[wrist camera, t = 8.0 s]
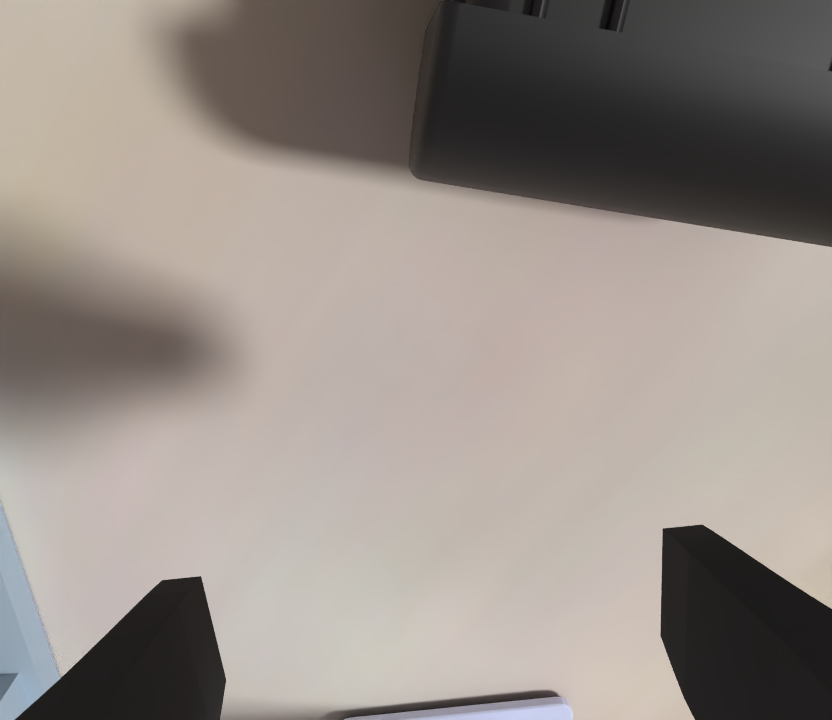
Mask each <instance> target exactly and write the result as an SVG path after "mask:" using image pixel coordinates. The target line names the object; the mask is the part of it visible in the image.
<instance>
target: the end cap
mask: <svg viewBox="0 0 832 720" xmlns="http://www.w3.org/2000/svg"><path fill="white" fill-rule="evenodd" d="M409 166H410V170H411V172H412V174H413V175H414V176H415V177H416V178H417V179H420V180H425V181H431V182H437V183H443V184H449V185H456V186H462V187H468V188H474V189H480V190H486V191H492V192H498V193H505V194H511V195H517V196H523V197H529V198H535V199H541V200H547V201H554V202H560V203H566V204H572V205H578V206H584V207H590V208H596V209H603V210H609V211H615V212H621V213H627V214H633V215H639V216H645V217H652V218H658V219H664V220H670V221H676V222H682V223H688V224H694V225H701V226H707V227H713V228H719V229H725V230H731V231H737V232H743V233H750V234H756V235H762V236H768V237H774V238H780V239H786V240H792V241H799V242H805V243H811V244H817V245H823V246H829V247H832V0H444V1H441V2H440V3H439V5H438V7H437V9H436V11H435V13H434V15H433V17H432V19H431V21H430V23H429V25H428V27H427V29H426V31H425V38H424V44H423V51H422V58H421V65H420V72H419V79H418V86H417V93H416V101H415V109H414V116H413V125H412V133H411V143H410V156H409Z"/></svg>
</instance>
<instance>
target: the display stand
mask: <svg viewBox="0 0 832 720" xmlns="http://www.w3.org/2000/svg"><path fill="white" fill-rule="evenodd" d="M59 679H61V678H60V675H59V672H58V669H57V666H56V663H55V660H54V657H53V654H52V651H51V648H50V646H49V643H48V640H47V637H46V634H45V631H44V628H43V625H42V622H41V619H40V616H39V613H38V611H37V608H36V605H35V602H34V599H33V596H32V593H31V590H30V587H29V584H28V581H27V578H26V576H25V573H24V570H23V567H22V564H21V561H20V558H19V555H18V552H17V549H16V546H15V543H14V541H13V538H12V535H11V532H10V529H9V526H8V523H7V520H6V517H5V514H4V511H3V508H2V506H1V503H0V720H15V719H16V718H17V717H18V716H19V715H20V714H21V713H23V712H24V711H25V710H26V709H27V708H28V707H29V706H30V705H32V704H33V703H34V702H35V701H36V700H37V699H38V698H39V697H40V696H42V695H43V694H44V693H45V692H46V691H47V690H48V689H49V688H50V687H52V686H53V685H54V684H55V683H56V682H57V681H58V680H59Z"/></svg>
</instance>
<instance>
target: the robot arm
mask: <svg viewBox="0 0 832 720" xmlns="http://www.w3.org/2000/svg"><path fill="white" fill-rule="evenodd" d="M661 638H662V641H663V643H664V646H665V649H666V652H667V654H668V657H669V660H670V663H671V665H672V668H673V671H674V673H675V676H676V678H677V681H678V684H679V686H680V689H681V691H682V694H683V696H684V699H685V701H686V703H687V705H688V707H689V709H690V711H691V713H692V715H693V716H694V718H695V720H832V609H831V608H829V607H827V606H826V605H824V604H823V603H821V602H819V601H818V600H816V599H815V598H813V597H811V596H810V595H808V594H807V593H805V592H804V591H802V590H801V589H799V588H797V587H796V586H794V585H793V584H791V583H790V582H788V581H787V580H785V579H784V578H782V577H781V576H779V575H778V574H776V573H775V572H773V571H772V570H770V569H769V568H767V567H766V566H764V565H763V564H761V563H760V562H758V561H757V560H755V559H754V558H752V557H751V556H749V555H748V554H746V553H745V552H743V551H742V550H740V549H739V548H737V547H736V546H734V545H733V544H731V543H730V542H729V541H727V540H726V539H724V538H722V537H721V536H719V535H718V534H716V533H715V532H713V531H712V530H710V529H708V528H707V527H705V526H704V525H694V526H685V527H675V528H665V529H663V546H662V595H661ZM225 684H226V678H225V673H224V669H223V665H222V661H221V657H220V653H219V649H218V645H217V641H216V636H215V632H214V628H213V624H212V620H211V616H210V612H209V608H208V603H207V599H206V595H205V591H204V587H203V583H202V579H201V576H200V577H190V578H181V579H171V580H162V581H161V582H160V583H159V584H158V585H157V586H155V587H154V588H153V589H152V590H151V591H150V592H149V593H148V594H147V595H146V596H145V597H144V598H143V599H142V600H141V601H140V602H139V603H138V604H137V605H136V606H135V607H134V608H133V609H132V610H131V611H130V612H129V613H127V614H126V615H125V616H124V617H123V618H122V619H121V620H120V621H119V622H118V623H117V624H116V625H115V626H114V627H113V628H112V629H111V630H110V631H109V632H108V633H107V634H106V635H105V636H104V637H103V638H102V639H101V640H100V641H99V642H98V643H97V644H96V645H95V646H94V647H93V648H92V649H91V650H90V651H89V652H88V653H87V654H86V655H85V656H84V657H83V658H82V659H81V660H79V661H78V662H77V663H76V664H75V665H74V666H73V667H72V668H71V669H70V670H69V671H68V672H67V673H66V674H65V675H64V676H63V677H62V678H61V679H59V680H58V681H57V682H56V683H55V684H54V685H53V686H52V687H50V688H49V689H48V690H47V691H46V692H45V693H44V694H43V695H42V696H40V697H39V698H38V699H37V700H36V701H35V702H34V703H33V704H32V705H30V706H29V707H28V708H27V709H26V710H25V711H24V712H23V713H21V714H20V715H19V716H18V717H17V718H16V719H15V720H220V715H221V709H222V703H223V696H224V690H225ZM344 720H573V713H572V709H571V706H570V702H569V701H568V700H567V699H565V698H563V697H547V698H538V699H528V700H518V701H508V702H498V703H489V704H479V705H469V706H459V707H449V708H440V709H430V710H420V711H410V712H400V713H390V714H381V715H371V716H361V717H351V718H347V719H344Z"/></svg>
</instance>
